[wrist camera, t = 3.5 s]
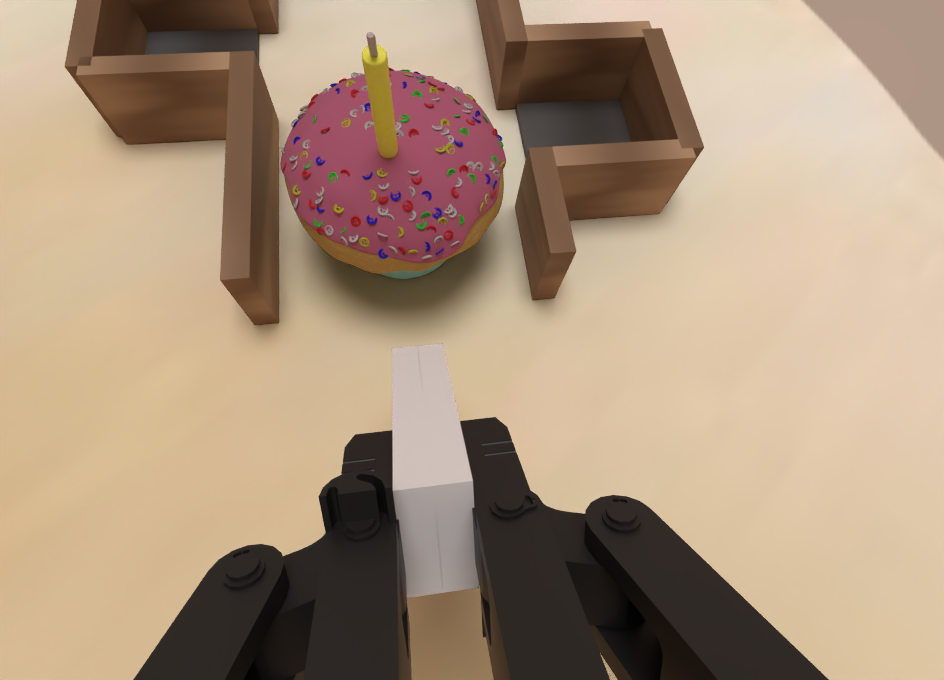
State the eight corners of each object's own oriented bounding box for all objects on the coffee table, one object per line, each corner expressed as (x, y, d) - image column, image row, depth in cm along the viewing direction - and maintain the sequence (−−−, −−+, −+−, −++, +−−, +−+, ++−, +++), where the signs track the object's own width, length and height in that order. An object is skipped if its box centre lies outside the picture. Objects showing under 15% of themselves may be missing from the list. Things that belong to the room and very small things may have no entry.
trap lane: (89, 339, 22) (0, 282, 18) (143, -64, 31) (93, -172, 27) (691, 285, 25) (750, 223, 20) (582, -69, 34) (605, -168, 29)
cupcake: (494, 320, 24) (549, 112, 13) (297, 315, 23) (173, 94, 12) (491, 161, 27) (532, -116, 16) (317, 154, 26) (233, -139, 15)
